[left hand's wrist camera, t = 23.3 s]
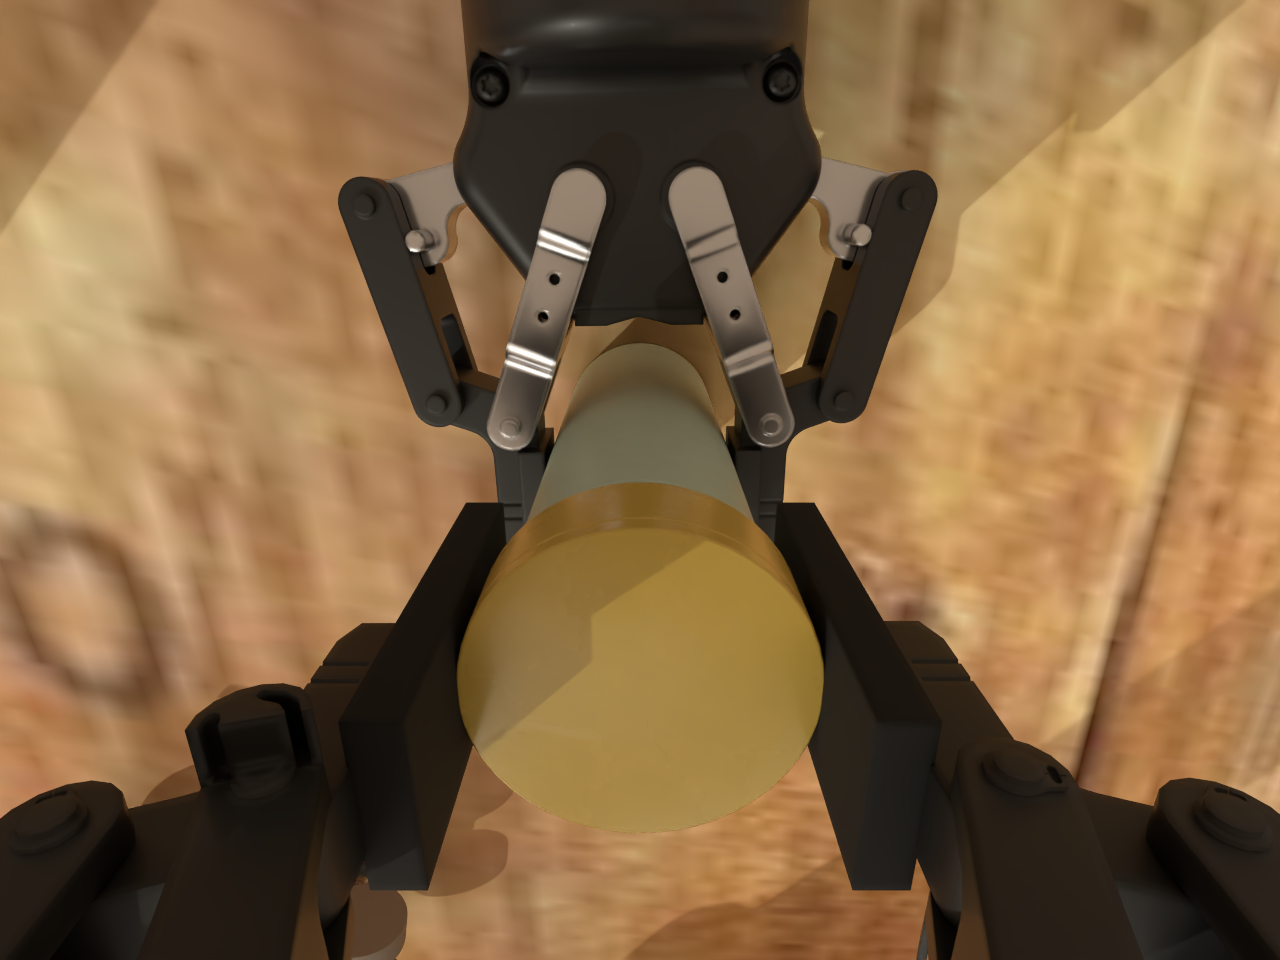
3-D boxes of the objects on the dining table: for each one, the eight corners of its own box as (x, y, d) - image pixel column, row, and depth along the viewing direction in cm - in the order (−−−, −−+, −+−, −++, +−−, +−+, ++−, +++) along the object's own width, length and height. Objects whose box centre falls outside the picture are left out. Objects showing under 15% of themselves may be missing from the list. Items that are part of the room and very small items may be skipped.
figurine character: (428, 812, 34) (81, 806, 31) (396, 973, 27) (-54, 981, 25) (423, 911, 36) (100, 912, 34) (392, 1082, 29) (-18, 1099, 27)
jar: (674, 496, 27) (711, 804, 13) (551, 446, 26) (450, 716, 12) (733, 376, 25) (846, 584, 11) (602, 319, 24) (552, 467, 11)
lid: (731, 786, 14) (743, 867, 12) (448, 711, 13) (419, 786, 11) (853, 539, 12) (888, 594, 10) (528, 436, 11) (508, 477, 9)
